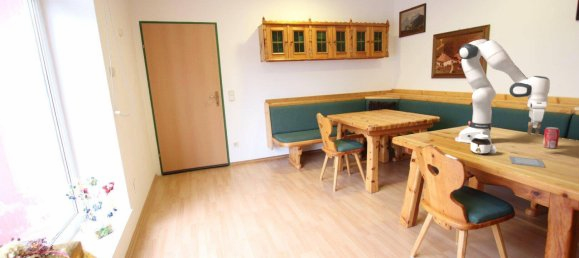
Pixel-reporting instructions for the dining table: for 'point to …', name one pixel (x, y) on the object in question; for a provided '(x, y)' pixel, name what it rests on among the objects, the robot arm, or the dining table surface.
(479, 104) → the robot arm
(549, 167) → the dining table surface
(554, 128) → the soda can
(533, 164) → the pad
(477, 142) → the spread jar
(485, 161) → the dining table surface
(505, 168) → the dining table surface
